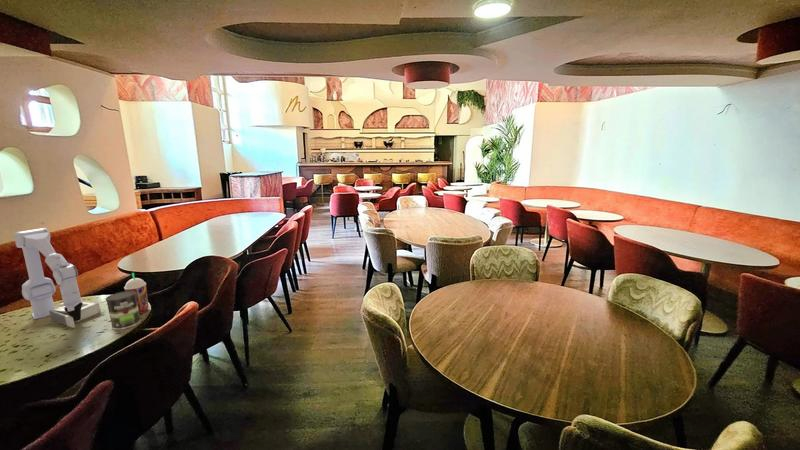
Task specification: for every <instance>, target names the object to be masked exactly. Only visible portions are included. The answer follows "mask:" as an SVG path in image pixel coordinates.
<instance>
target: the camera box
mask: <svg viewBox="0 0 800 450" xmlns="http://www.w3.org/2000/svg"><path fill="white" fill-rule="evenodd" d="M82 302H83V304H82V307H81V319H80V320H78V321H74V323H80V322H81V321H84V320H86V319H89V318H91V317H93V316H95V315H98V314H100V313H101V312H102V311H101V306H100V303H99V302H95V301H84V300H82ZM64 309H65V306H59V307H55V309H54V310H53V311H56V312H59V313H62V314H65V315H68V316H70V315H69V314H68V313H67V312H66V311H65V310H64Z"/></svg>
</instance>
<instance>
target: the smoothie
mask: <svg viewBox="0 0 800 450" xmlns="http://www.w3.org/2000/svg"><path fill="white" fill-rule="evenodd" d="M131 276H132V278H131V279H129V280H128V281H127V282H126V283H125V286H123V289H124V291H135V292H136V299H137V304H138V309H139V314H143V313H146V312H148V310H149V309H148V308H149V307H150V305H149V299H148V290H147V282H146V281H144V279H142V278H140V277H135V272H131Z"/></svg>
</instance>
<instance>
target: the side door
mask: <svg viewBox="0 0 800 450" xmlns="http://www.w3.org/2000/svg"><path fill="white" fill-rule="evenodd" d="M49 313H50V315H49V316H50V319H51V321H53V322H55V323H58V324H61V325H64V326H67V327H69V328H72V329H74V328H76V326H75V322H74V320H73V317H71V316H68V315H65V314H62V313H59V312H56V311H53V310H50V311H49Z"/></svg>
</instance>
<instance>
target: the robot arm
mask: <svg viewBox="0 0 800 450" xmlns="http://www.w3.org/2000/svg"><path fill="white" fill-rule="evenodd" d="M13 239H14V242H15V243H14V244H15V246H16V248H20V249H22V252H23V257H24V260H25V266H26V269H27V275H28V280H26V281H25V282H24V283H23V284H21V294H22V297H23V298H24V299H25V300H26V301H29V302H30V305H31V309H32V313H31V316H32V318H33V319H34V320H38V319H42V318H46V317H49V316H50V313H49V311H50V310H54V309H56V307H55V303H54V299H53V296H54V294H55V293H56V289H57V288H56V286H55V283H54V281H53V279H54V280H55V282H56V284H57V285H58V286H59V290H60V294H61V299H62V302H61V303H59V307H61V306H65V309H64V310H65V311H66V312H67V313H68V314H69V315H70V316H71V317H73V320H74V321H78V320H80V319H81V307H82V304H83V302H82V301H83V299H82V297H81V293H80V289H79V285H78V281H77V277H78V275H79V273H78V269H77V268H76V266H75V265H74V264H72V263H70V262H68V261H67V260H66V258H65V257H64V255H63V254H62V253H57V252H56V250H55V249H54V247H53V246H52V244H51V233H50V231H49V230H48V228H46V227H41V228H36V229H35V228H34V229H29V230H23V231H22V230H21V231H16V232H15V233H14V235H13ZM40 253H41V254H42V255H43V256H44V258H45V259H44V262H45V263H46V265H47V266H48V267H49V269H50V271H52V276H53V279H51V278H50V277H46V276H45V274H44V273H45V272H44V269H43V264H42V259H41V255H40Z"/></svg>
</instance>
